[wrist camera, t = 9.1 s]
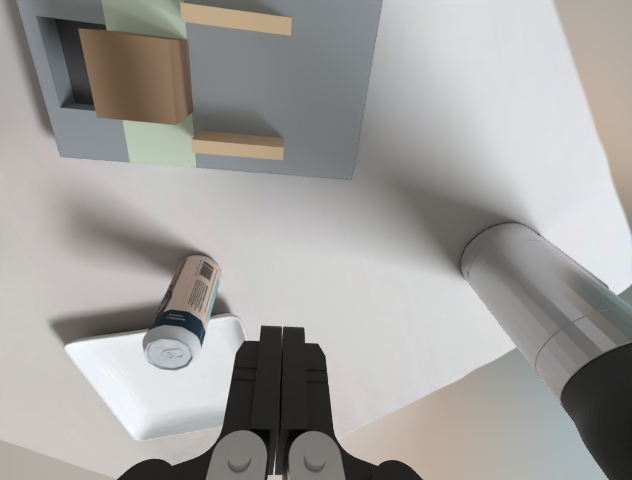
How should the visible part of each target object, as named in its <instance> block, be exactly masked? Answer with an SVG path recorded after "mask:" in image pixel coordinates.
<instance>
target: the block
mask: <svg viewBox="0 0 632 480" xmlns="http://www.w3.org/2000/svg"><path fill="white" fill-rule="evenodd" d="M78 30H79V35H80V39H81V44H82V49H83V54H84V58H85V63H86V68H87V73H88V77H89V82H90V87H91V92H92V96H93V101H94V106H95V111H96V115H97V118H107V119H117V120H128V121H138V122H149V123H159V124H169V125H177V124H178V123H179V122H181V121H182V120H183V119H185V118H186V117H187V116H188V115H190V114H191V113H192V112H193V101H192V86H191V72H190V58H189V43H188V40H183V39H175V38H168V37H160V36H152V35H144V34H136V33H128V32H121V31H110V30H94V29H79V28H78Z"/></svg>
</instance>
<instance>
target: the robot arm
mask: <svg viewBox="0 0 632 480" xmlns="http://www.w3.org/2000/svg"><path fill="white" fill-rule="evenodd" d="M461 272H462V274H463V276H464V278H465V279H466V280H467V282H468V283H469V284H470V286H471V287H472V288H473V290H474V291H475V292H476V294H477V295H478V296H479V298H480V299H481V300H482V302H483V303H484V304H485V306H486V307H487V308H488V310H489V311H490V312H491V314H492V315H493V316H494V317H495V319H496V320H497V321H498V323H499V324H500V325H501V327H502V328H503V329H504V331H505V332H506V333H507V335H508V336H509V337H510V338H511V340H512V341H513V342H514V344H515V345H516V346H517V348H518V349H519V350H520V351H521V353H522V354H523V356H524V357H525V358H526V359H527V361H528V362H529V363H530V365H531V366H532V367H533V368H534V370H535V371H536V373H537V374H538V375H539V376H540V377H541V379H542V380H543V382H544V383H545V384H546V385H547V387H548V388H549V389H550V391H551V392H552V393H553V395H554V396H555V397H556V399H557V400H558V401H559V403H560V404H561V405H562V406H563V408H564V409H565V411H566V412H567V413H568V415H569V416H570V417H571V419H572V420H573V421H574V423H575V425H576V427H577V429H578V431H579V433H580V436H581V438H582V440H583V442H584V444H585V445H586V447H587V449H588V450H589V452H590V453H591V455H592V456H593V458H594V459H595V461H596V462H597V463H598V465H599V466H600V468H601V469H602V471H603V472H604V473H605V475H606V476H607V478H608V479H609V480H632V307H631V306H630V305H629V304H627V303H626V302H625V301H623V300H622V299H621V298H619V297H618V296H617V295H616V294H614V293H613V292H612V291H610V290H609V288H608V286H607V285H606V284H605V283H604V282H602V281H601V280H600V279H598V278H597V277H596V276H595V275H593V274H592V273H591V272H589V271H588V270H587V269H585V268H584V267H583V266H581V265H580V264H579V263H577V262H576V261H575V260H573V259H572V258H571V257H569V256H568V255H567V254H565V253H564V252H563V251H561V250H560V249H559V248H557V247H556V246H555V245H553V244H552V243H551V242H550V241H548V240H547V239H546V238H544V237H543V236H539V235H537V234H536V233H535V232H533V231H532V230H531V229H529V228H528V227H526V226H525V225H522V224H518V223H505V224H500V225H496V226H493V227H491V228H489V229H487V230H485V231H483V232H482V233H480V234H479V235H478V236H476V237H475V238H474V239H473V240H472V241H471V242H470V244H469V245H468V246H467V247H466V249H465V251H464V253H463V255H462V259H461ZM281 341H282V343H281ZM275 453H276V460H275ZM274 461H275V475H282V480H423V479H421V477H420V476H419V475H418V474H417V473H416V472H415V471H414V470H412V468H411V467H409V466H408V465H406V464H404V463H402V462H400V461H396V460H389V461H385V462H383V463H381V464H380V465H379V466H376V465H373V464H371V463H368V462H365V461H363V460H360V459H358V458H355V457H353V456H352V455H350V454H349V453H347V452H346V451H345V450H344V449H343V448H342V447H341V446H340V444H339V443H338V441H337V439H336V437H335V434H334V430H333V422H332V413H331V403H330V394H329V385H328V376H327V367H326V358H325V355H324V353H323V351H322V350H321V348H320V346H319V344H313V343H305V333H304V328H303V327H283V334H282V327H280V326H261V333H260V341H244V342H243V343H242V345H241V346H240V348H239V349H238V350H237V352H236V355H235V361H234V366H233V372H232V377H231V383H230V388H229V394H228V399H227V405H226V411H225V416H224V422H223V427H222V431H221V433H220V436H219V438H218V439H217V441H216V442H215V444H214V445H213V446H212V447H211V448H210V449H209V450H208V451H206V452H205V453H204V454H202V455H200V456H199V457H196V458H194V459H191V460H188V461H185V462H182V463H179V464H177V465H174V466H171V465H170V464H169V463H168V462H166V461H164V460H161V459H148V460H145V461H142V462H140V463H137V464H136V465H134V466H133V467H131V468H130V469H129V470H127V471H126V472H125V473H124V474H123V475H122V476H120V477H119V478H118V479H117V480H267V477H268V475H273V468H274Z"/></svg>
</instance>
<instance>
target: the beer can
mask: <svg viewBox="0 0 632 480" xmlns="http://www.w3.org/2000/svg"><path fill="white" fill-rule="evenodd" d="M220 278H221V270H220V268H219V266H218V265H217V263H216V262H214V261H213V260H212V259H210V258H208V257H205V256H201V255H192V256H188V257H186V258H184V259H183V260H182V261H181V262H180V263H179V265H178V267H177V271H176V273H175V275H174V277H173V279H172V281H171V283H170V285H169V288H168V290H167V292H166V294H165V296H164V298H163V300H162V302H161V304H160V307H159V309H158V311H157V313H156V315H155V317H154V319H153V321H152V323H151V326H150V328H149V330H148V332H147V333H146V334H145V336H144V338H143V342H142V346H143V350H144V352H143V353H144V355H145V357H146V360H147V362H148V363H149V364H151V365H153V366H155V367H157V368H158V369H160V370H170V371H177V370H180V369H183V368H185V367H188V366H189V364H190V363H192V362H193V361H194V360H195V359H196V358H197V357H198V355H199V354H200V351H201V348H202V344H203V341H204V337H205V333H206V330H207V326H208V322H209V319H210V315H211V311H212V308H213V304H214V300H215V297H216V293H217V289H218V286H219V282H220Z"/></svg>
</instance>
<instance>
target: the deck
mask: <svg viewBox="0 0 632 480" xmlns="http://www.w3.org/2000/svg"><path fill="white" fill-rule="evenodd" d="M16 2H17V5H18V9H19V12H20V16H21V19H22V23H23V27H24V30H25V34H26V37H27V41H28V44H29V48H30V51H31V55H32V58H33V62H34V65H35V69H36V73H37V76H38V80H39V83H40V87H41V90H42V94H43V97H44V101H45V104H46V108H47V111H48V115H49V118H50V122H51V126H52V129H53V133H54V136H55V140H56V143H57V147H58V150H59V154H60V157H67V158H80V159H93V160H105V161H118V162H131V163H144V164H156V165H169V166H182V167H194V168H207V169H220V170H233V171H245V172H258V173H271V174H284V175H296V176H309V177H322V178H335V179H347V180H352V175H353V169H354V163H355V158H356V152H357V146H358V140H359V134H360V129H361V123H362V117H363V111H364V106H365V100H366V94H367V88H368V83H369V77H370V71H371V65H372V59H373V54H374V48H375V42H376V36H377V31H378V25H379V19H380V13H381V7H382V2H383V0H16ZM78 28H79V29H94V30H110V31H121V32H128V33H136V34H144V35H152V36H160V37H168V38H175V39H183V40H188V43H189V58H190V72H191V86H192V101H193V112H192V113H191V114H190V115H188V116H187V117H186V118H185V119H183V120H182V121H181V122H179V123H178V124H177V125H169V124H159V123H149V122H138V121H128V120H117V119H107V118H97V115H96V111H95V106H94V101H93V96H92V92H91V87H90V82H89V77H88V73H87V68H86V63H85V58H84V54H83V49H82V44H81V39H80V35H79V30H78Z"/></svg>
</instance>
